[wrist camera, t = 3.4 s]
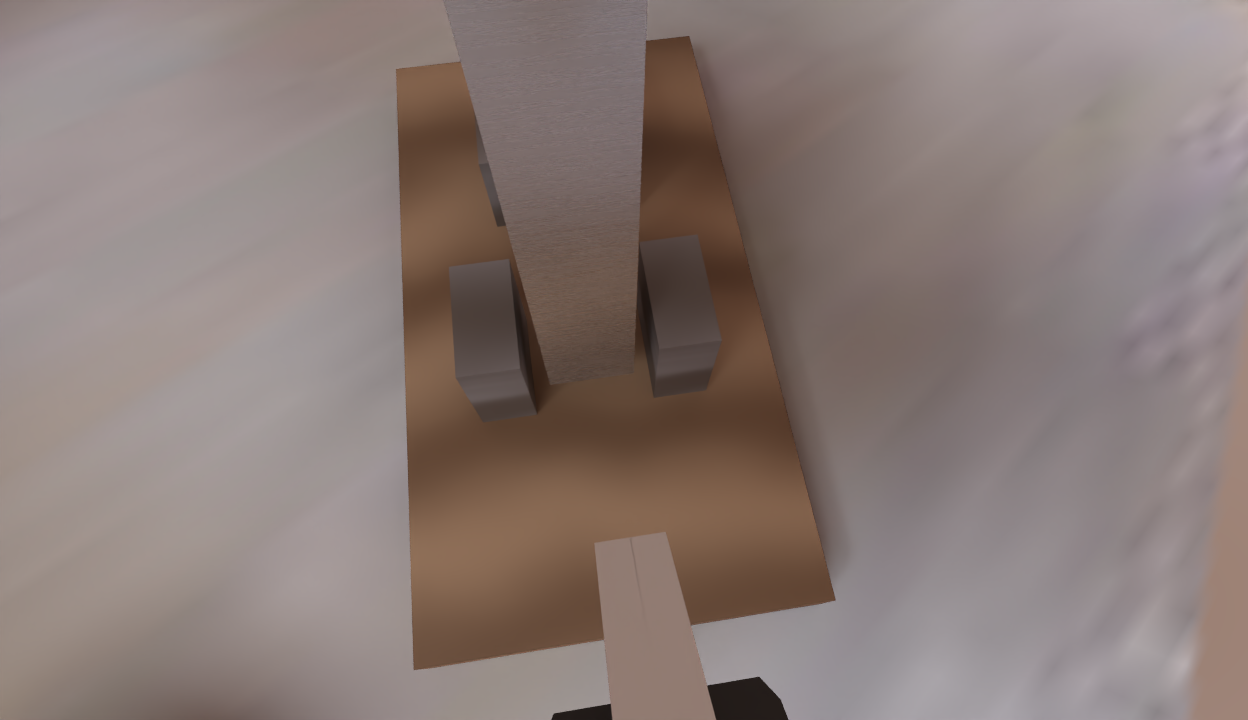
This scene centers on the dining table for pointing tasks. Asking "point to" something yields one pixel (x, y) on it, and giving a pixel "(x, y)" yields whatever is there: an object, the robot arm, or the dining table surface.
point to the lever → (565, 163)
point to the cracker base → (587, 398)
